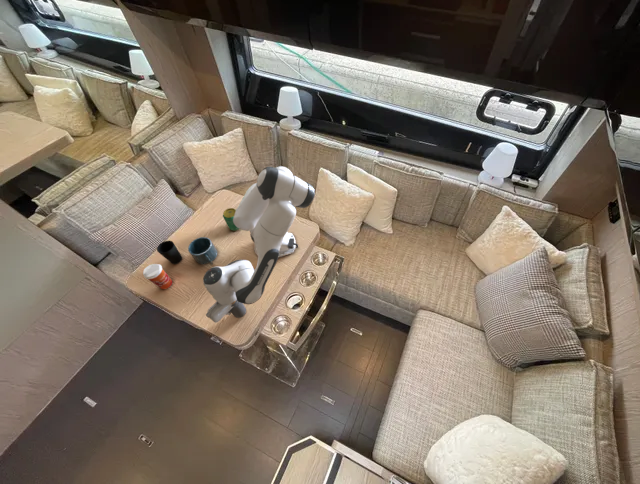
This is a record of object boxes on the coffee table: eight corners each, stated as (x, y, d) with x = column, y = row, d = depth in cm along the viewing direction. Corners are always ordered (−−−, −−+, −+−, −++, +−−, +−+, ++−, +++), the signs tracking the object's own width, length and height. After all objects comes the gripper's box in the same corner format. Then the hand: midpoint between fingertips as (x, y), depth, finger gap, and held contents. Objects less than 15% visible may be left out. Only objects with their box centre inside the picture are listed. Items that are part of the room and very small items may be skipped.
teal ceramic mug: (192, 254, 148) (184, 244, 141) (212, 243, 153) (206, 233, 146) (203, 272, 142) (196, 263, 135) (224, 260, 147) (218, 251, 140)
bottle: (244, 318, 126) (234, 305, 115) (231, 317, 126) (220, 304, 115) (247, 306, 130) (238, 292, 119) (235, 305, 130) (225, 291, 119)
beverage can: (244, 220, 165) (238, 206, 155) (242, 230, 160) (236, 217, 150) (230, 221, 164) (223, 207, 155) (227, 231, 159) (220, 218, 150)
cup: (178, 267, 143) (167, 254, 134) (165, 264, 144) (153, 251, 135) (187, 254, 148) (177, 242, 139) (174, 252, 149) (163, 239, 140)
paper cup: (164, 294, 133) (148, 280, 123) (154, 286, 136) (138, 272, 125) (178, 281, 138) (164, 267, 127) (168, 274, 140) (154, 259, 130)
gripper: (209, 318, 106) (221, 330, 117) (250, 279, 117) (257, 293, 128) (199, 309, 108) (211, 321, 119) (240, 271, 119) (248, 286, 130)
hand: (236, 306), depth 124 cm, fingers closed on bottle, 6 cm apart
